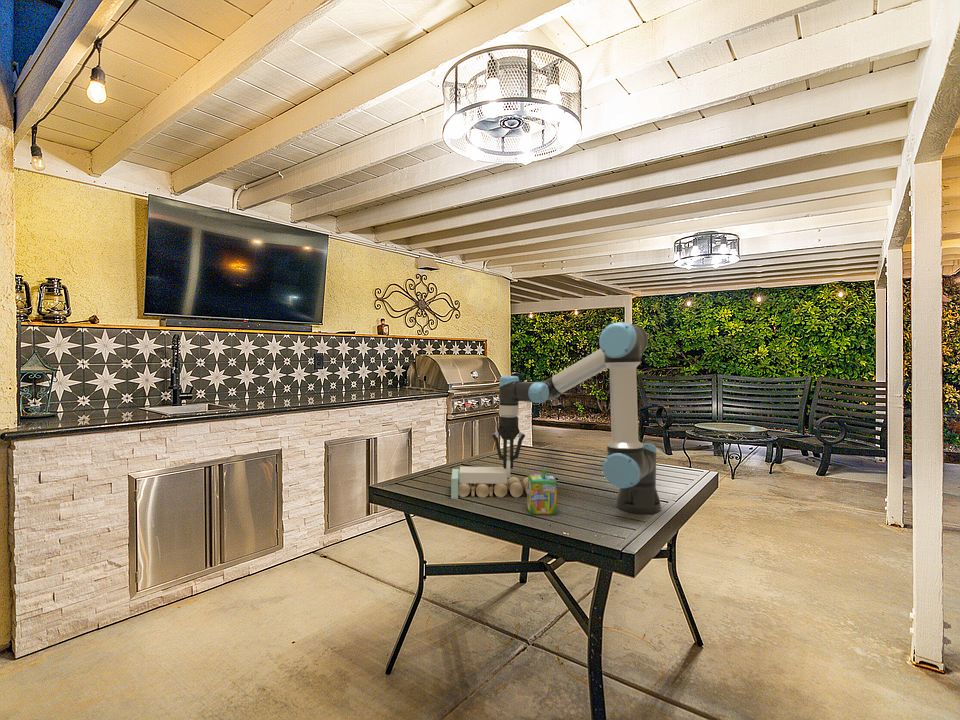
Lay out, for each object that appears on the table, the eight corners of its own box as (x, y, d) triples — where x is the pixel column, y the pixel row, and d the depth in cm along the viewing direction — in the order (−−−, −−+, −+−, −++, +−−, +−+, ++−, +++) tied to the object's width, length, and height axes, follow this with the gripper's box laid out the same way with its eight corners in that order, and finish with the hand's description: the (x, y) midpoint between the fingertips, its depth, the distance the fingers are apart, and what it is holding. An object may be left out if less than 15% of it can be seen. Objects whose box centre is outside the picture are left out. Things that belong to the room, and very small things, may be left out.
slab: (507, 483, 184) (507, 473, 184) (459, 483, 184) (459, 472, 184) (505, 477, 194) (505, 466, 194) (459, 476, 194) (459, 466, 194)
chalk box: (526, 506, 173) (527, 464, 173) (552, 506, 174) (553, 464, 173) (529, 515, 164) (530, 470, 164) (557, 515, 164) (557, 471, 164)
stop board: (457, 498, 181) (458, 478, 181) (451, 498, 181) (451, 478, 181) (458, 487, 197) (458, 468, 197) (452, 487, 197) (452, 468, 197)
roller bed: (539, 497, 184) (539, 484, 184) (456, 496, 183) (456, 483, 183) (534, 489, 195) (535, 476, 195) (457, 488, 194) (457, 476, 194)
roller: (490, 495, 184) (487, 483, 184) (477, 499, 184) (474, 486, 183) (489, 487, 195) (486, 475, 195) (477, 490, 194) (474, 478, 194)
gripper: (524, 414, 193) (523, 474, 193) (491, 414, 193) (490, 474, 193) (526, 417, 186) (525, 479, 186) (492, 417, 185) (491, 479, 185)
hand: (508, 476), depth 189 cm, fingers closed
